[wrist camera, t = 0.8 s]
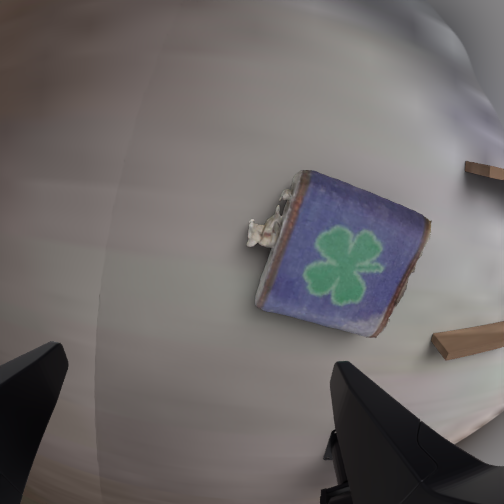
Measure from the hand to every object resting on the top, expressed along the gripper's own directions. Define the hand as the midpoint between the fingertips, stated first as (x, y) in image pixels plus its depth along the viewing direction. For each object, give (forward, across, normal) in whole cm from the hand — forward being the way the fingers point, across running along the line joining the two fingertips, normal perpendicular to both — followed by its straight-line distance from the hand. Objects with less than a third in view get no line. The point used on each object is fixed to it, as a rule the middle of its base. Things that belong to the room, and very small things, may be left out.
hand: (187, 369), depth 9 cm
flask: (+13, -11, +1) cm, 18 cm away
